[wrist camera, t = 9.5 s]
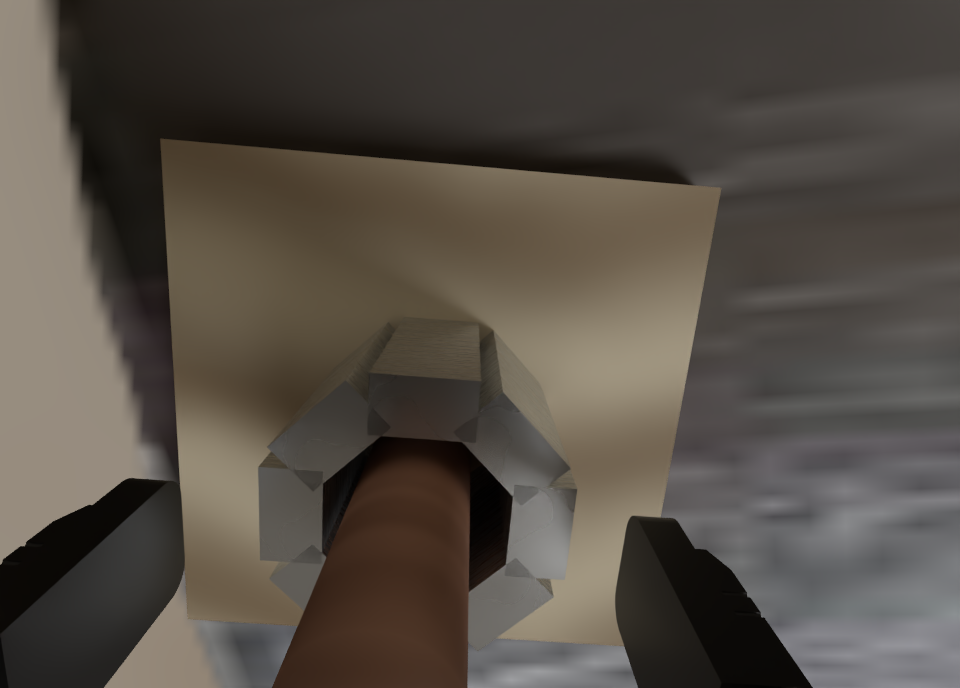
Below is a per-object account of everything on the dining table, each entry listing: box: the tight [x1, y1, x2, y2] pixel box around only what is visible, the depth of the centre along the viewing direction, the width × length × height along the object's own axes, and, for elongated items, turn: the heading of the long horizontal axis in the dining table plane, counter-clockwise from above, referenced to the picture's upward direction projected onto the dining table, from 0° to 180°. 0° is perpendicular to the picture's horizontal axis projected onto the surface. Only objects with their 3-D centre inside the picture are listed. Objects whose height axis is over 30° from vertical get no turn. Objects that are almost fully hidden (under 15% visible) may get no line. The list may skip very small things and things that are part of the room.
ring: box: [258, 317, 577, 651], centre depth 13 cm, size 6×6×5 cm
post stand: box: [160, 139, 721, 688], centre depth 12 cm, size 14×14×10 cm
